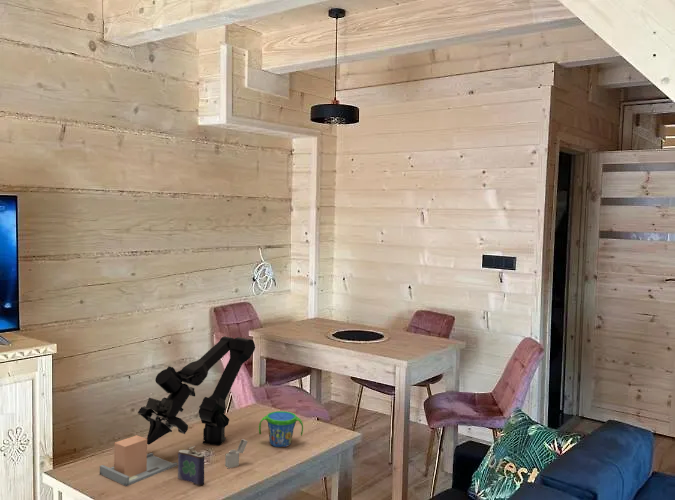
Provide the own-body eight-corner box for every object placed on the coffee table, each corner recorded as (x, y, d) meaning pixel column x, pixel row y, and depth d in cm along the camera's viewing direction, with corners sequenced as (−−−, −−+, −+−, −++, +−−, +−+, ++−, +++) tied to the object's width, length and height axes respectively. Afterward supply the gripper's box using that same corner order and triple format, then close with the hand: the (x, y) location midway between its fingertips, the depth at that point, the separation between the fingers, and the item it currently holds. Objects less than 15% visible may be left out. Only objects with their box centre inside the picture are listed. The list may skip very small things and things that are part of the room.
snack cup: (304, 439, 218) (305, 412, 217) (300, 451, 207) (301, 422, 207) (261, 437, 219) (262, 409, 218) (255, 448, 208) (256, 419, 208)
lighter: (227, 468, 191) (228, 444, 191) (225, 467, 192) (225, 442, 192) (247, 463, 196) (247, 439, 195) (244, 461, 197) (245, 437, 196)
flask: (175, 480, 182) (176, 445, 181) (182, 476, 185) (183, 442, 184) (200, 487, 178) (201, 451, 177) (206, 483, 181) (207, 448, 180)
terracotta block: (136, 466, 189) (136, 435, 189) (146, 470, 186) (147, 439, 186) (114, 475, 183) (114, 442, 182) (124, 479, 180) (124, 446, 179)
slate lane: (151, 456, 199) (151, 447, 199) (177, 466, 191) (177, 457, 191) (99, 475, 183) (99, 465, 183) (126, 487, 176) (126, 477, 176)
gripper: (143, 381, 198) (113, 424, 189) (181, 393, 187) (151, 438, 179) (162, 399, 205) (134, 441, 196) (200, 411, 194) (172, 456, 186)
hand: (147, 443), depth 189 cm, fingers closed
